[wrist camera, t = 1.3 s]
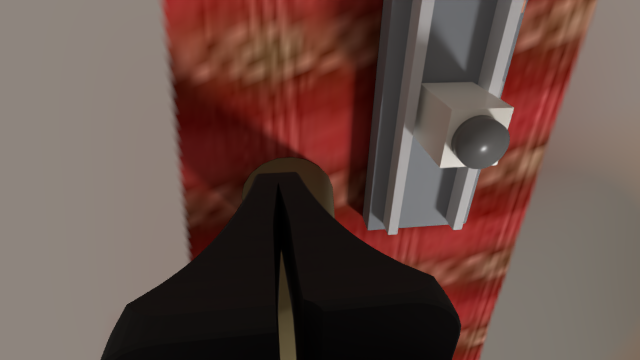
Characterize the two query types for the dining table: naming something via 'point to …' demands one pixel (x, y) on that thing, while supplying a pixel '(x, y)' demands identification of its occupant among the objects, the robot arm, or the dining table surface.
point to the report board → (403, 95)
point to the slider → (462, 124)
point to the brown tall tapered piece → (323, 193)
